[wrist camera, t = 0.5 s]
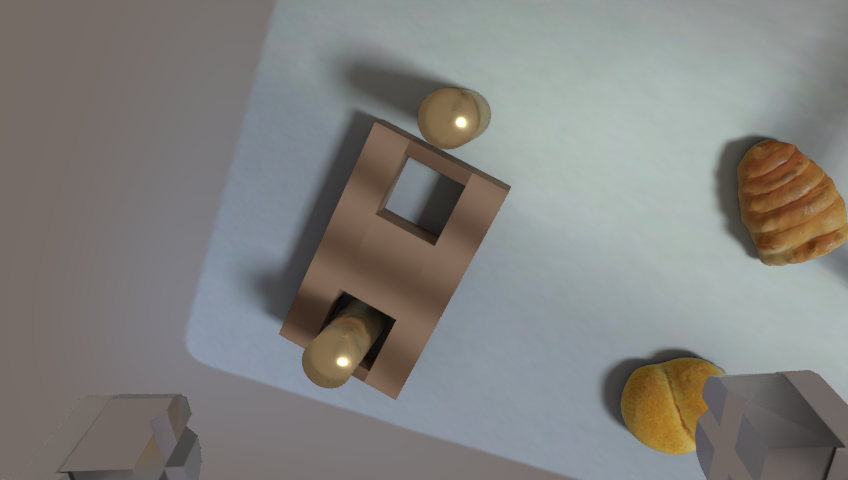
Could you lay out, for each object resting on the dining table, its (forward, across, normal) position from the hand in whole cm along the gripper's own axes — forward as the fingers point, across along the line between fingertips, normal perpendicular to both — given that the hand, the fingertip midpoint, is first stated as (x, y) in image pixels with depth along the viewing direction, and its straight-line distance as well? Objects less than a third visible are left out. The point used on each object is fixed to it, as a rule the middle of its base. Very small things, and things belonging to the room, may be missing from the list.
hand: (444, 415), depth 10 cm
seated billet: (+39, +7, +24) cm, 46 cm away
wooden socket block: (+40, +4, +18) cm, 44 cm away
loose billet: (+42, -3, +6) cm, 42 cm away
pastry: (+36, -27, +12) cm, 47 cm away
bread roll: (+33, -20, +29) cm, 48 cm away
